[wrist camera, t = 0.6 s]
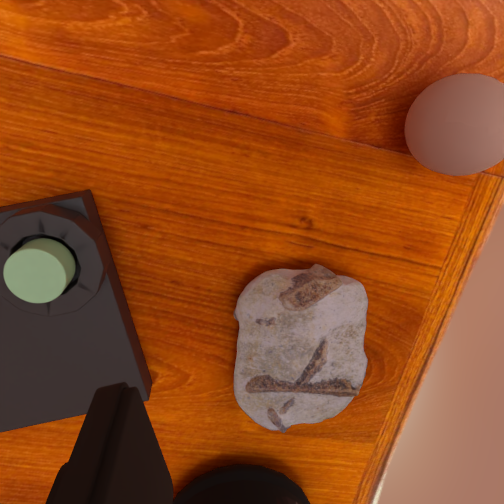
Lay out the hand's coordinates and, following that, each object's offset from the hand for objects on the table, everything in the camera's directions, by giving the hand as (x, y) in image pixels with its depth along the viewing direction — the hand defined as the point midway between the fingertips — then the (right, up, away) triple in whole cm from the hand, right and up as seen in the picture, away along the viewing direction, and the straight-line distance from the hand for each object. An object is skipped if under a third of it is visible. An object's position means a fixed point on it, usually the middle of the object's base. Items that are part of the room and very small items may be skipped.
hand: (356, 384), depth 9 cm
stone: (+1, -3, +21) cm, 21 cm away
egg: (+8, +11, +16) cm, 21 cm away
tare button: (-13, +2, +14) cm, 19 cm away
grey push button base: (-16, -1, +18) cm, 24 cm away
